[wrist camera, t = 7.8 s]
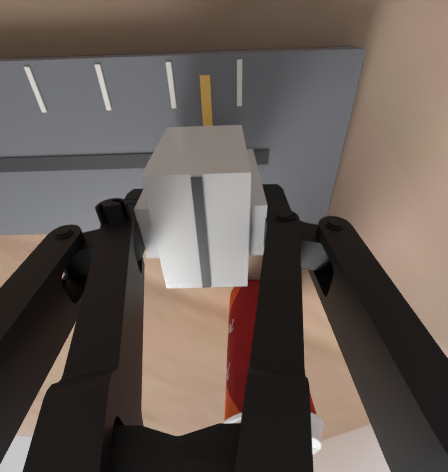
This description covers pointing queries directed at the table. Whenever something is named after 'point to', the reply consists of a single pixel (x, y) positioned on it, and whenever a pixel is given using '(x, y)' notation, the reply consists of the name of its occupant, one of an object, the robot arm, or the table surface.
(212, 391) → the table surface
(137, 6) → the table surface
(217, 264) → the fader
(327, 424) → the table surface
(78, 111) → the gray slider panel
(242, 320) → the paper cup
